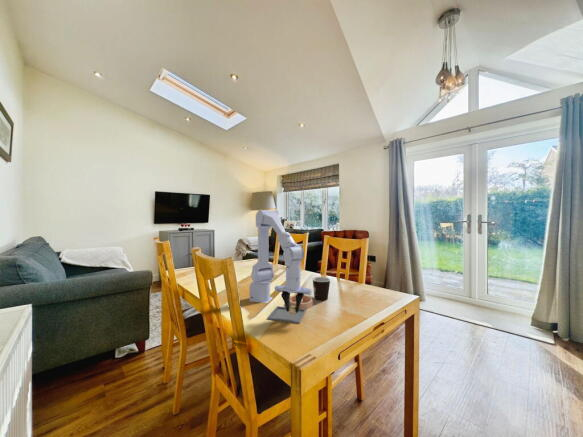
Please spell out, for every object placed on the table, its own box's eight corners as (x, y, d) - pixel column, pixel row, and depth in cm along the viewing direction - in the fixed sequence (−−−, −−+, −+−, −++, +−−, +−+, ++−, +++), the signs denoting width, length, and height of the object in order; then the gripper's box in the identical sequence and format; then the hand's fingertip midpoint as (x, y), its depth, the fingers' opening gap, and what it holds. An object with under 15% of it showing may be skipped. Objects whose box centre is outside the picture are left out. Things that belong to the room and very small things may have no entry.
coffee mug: (329, 303, 110) (329, 282, 110) (311, 301, 112) (311, 281, 112) (330, 295, 121) (330, 276, 121) (313, 293, 123) (314, 275, 123)
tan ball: (287, 315, 91) (287, 307, 91) (289, 312, 94) (289, 304, 94) (295, 316, 90) (295, 308, 90) (297, 313, 93) (297, 305, 93)
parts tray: (267, 320, 92) (267, 317, 92) (277, 308, 103) (277, 306, 103) (299, 325, 88) (299, 322, 88) (305, 312, 100) (306, 309, 100)
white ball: (295, 304, 107) (294, 297, 107) (296, 302, 110) (296, 295, 110) (302, 305, 106) (301, 298, 106) (303, 302, 109) (303, 295, 109)
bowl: (285, 308, 103) (285, 302, 103) (291, 300, 114) (291, 293, 114) (309, 311, 100) (309, 304, 100) (314, 302, 111) (314, 296, 111)
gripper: (272, 277, 90) (271, 312, 90) (309, 281, 86) (308, 317, 86) (278, 273, 97) (277, 305, 97) (312, 276, 93) (312, 310, 93)
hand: (292, 311), depth 92 cm, fingers closed on tan ball, 3 cm apart
